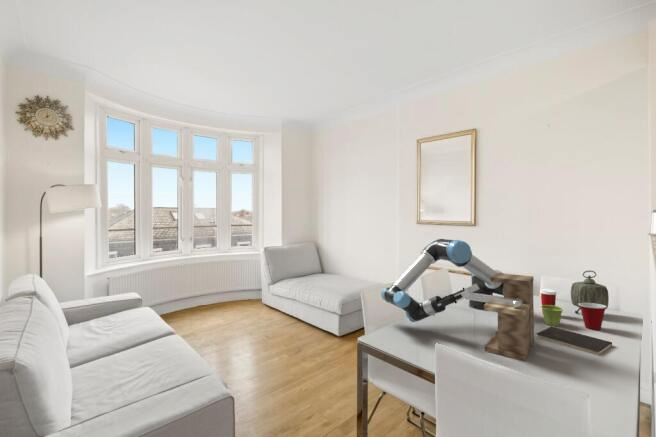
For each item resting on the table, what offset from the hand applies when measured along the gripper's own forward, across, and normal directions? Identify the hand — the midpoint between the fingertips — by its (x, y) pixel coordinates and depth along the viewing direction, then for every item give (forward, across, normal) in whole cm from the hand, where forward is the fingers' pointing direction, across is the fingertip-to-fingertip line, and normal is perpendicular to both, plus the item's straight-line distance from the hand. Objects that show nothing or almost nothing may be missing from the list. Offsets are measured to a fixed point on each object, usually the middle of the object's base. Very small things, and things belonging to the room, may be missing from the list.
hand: (473, 289), depth 140 cm
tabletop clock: (+22, -76, -42) cm, 89 cm away
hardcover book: (+16, -28, -39) cm, 51 cm away
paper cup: (+6, -63, -32) cm, 71 cm away
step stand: (-1, -6, -28) cm, 29 cm away
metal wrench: (+4, 0, -8) cm, 9 cm away
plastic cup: (+22, -53, -42) cm, 71 cm away
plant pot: (+9, -48, -34) cm, 59 cm away
